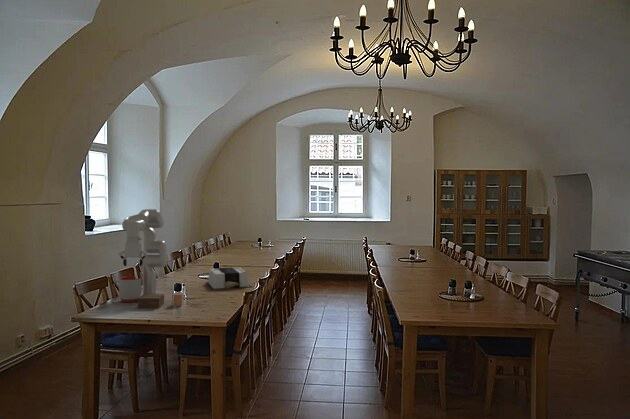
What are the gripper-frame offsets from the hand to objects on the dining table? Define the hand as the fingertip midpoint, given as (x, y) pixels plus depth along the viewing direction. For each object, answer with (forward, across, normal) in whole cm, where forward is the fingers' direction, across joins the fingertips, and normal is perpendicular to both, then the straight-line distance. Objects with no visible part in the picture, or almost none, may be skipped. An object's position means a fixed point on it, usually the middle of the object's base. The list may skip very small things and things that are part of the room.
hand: (133, 265), depth 325 cm
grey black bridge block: (+31, -56, -90) cm, 111 cm away
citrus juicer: (+31, +10, -34) cm, 47 cm away
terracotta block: (+31, -26, -19) cm, 44 cm away
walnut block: (+31, -8, -18) cm, 36 cm away
